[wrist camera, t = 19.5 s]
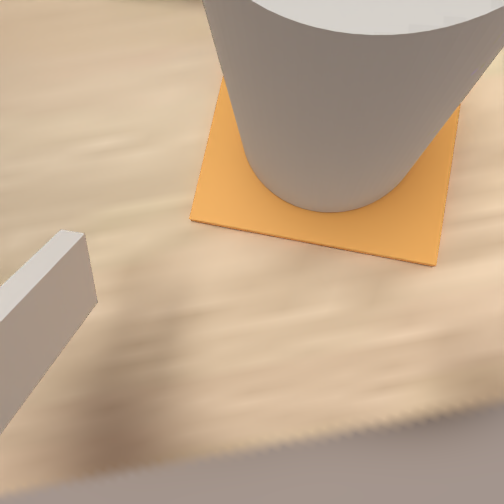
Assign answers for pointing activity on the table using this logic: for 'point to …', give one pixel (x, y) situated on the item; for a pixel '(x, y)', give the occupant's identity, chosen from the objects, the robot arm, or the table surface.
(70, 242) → the robot arm
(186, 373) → the table surface
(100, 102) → the table surface
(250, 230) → the pad
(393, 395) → the table surface
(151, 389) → the table surface
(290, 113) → the white closed cylinder
